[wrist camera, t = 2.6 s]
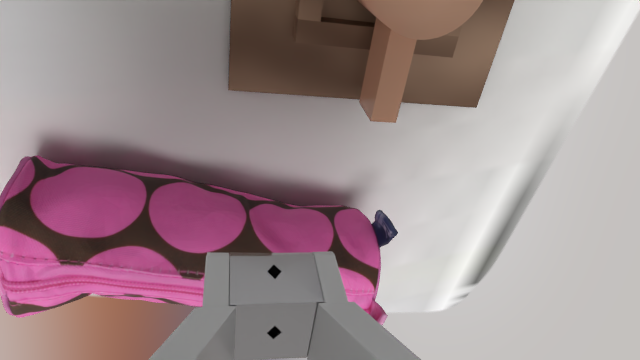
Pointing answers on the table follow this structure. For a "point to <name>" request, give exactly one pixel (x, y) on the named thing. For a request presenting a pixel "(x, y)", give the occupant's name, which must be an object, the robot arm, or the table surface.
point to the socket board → (354, 51)
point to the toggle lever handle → (403, 46)
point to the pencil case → (159, 236)
